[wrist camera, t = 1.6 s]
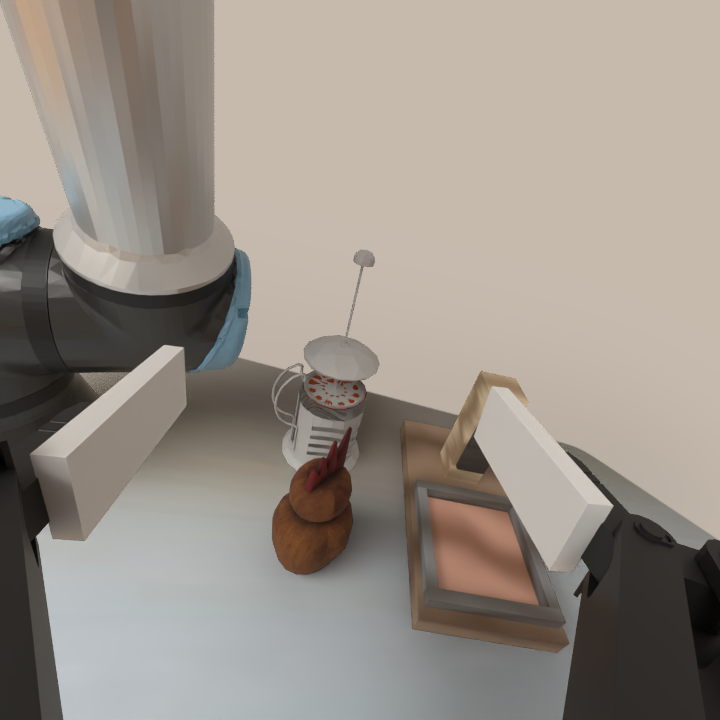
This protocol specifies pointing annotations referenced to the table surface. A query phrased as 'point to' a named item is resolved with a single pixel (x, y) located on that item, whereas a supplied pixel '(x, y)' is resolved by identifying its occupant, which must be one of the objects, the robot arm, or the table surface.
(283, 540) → the wooden figurine
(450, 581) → the wooden tray stand
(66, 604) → the table surface
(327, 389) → the french press
